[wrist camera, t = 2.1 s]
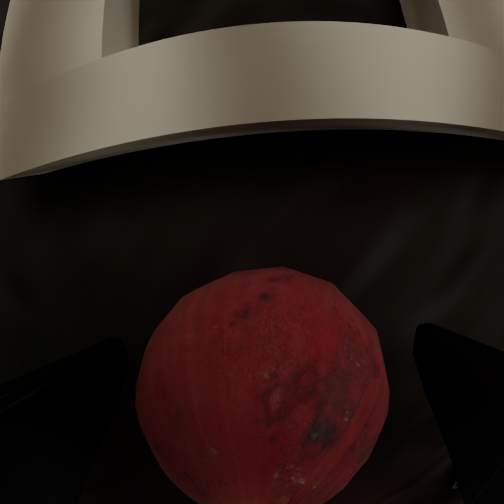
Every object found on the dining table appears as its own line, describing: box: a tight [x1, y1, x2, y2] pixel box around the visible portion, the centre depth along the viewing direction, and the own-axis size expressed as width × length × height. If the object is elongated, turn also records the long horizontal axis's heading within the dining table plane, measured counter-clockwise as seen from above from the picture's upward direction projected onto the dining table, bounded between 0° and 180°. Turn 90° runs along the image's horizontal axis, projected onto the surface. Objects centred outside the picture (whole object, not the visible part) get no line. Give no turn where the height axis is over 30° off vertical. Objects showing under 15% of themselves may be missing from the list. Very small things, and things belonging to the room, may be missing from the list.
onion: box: [135, 267, 390, 504], centre depth 7 cm, size 6×6×8 cm
